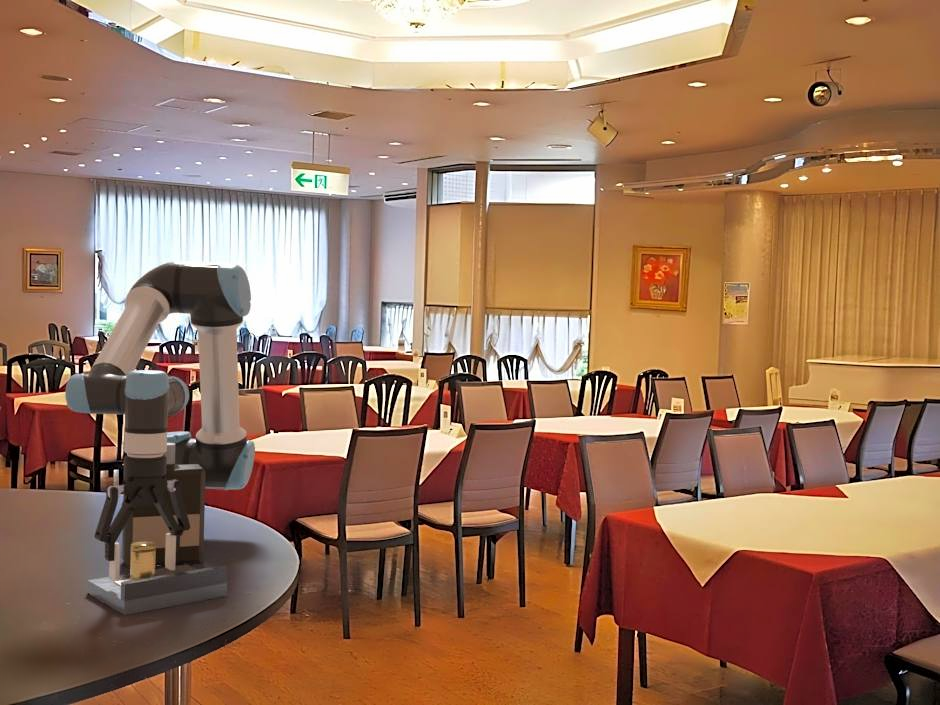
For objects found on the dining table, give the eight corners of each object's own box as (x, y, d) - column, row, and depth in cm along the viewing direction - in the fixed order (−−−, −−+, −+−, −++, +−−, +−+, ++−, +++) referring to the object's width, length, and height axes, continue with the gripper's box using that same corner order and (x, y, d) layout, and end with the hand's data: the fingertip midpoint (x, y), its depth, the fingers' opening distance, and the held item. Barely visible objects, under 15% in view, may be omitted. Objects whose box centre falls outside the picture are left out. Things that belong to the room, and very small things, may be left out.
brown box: (120, 559, 214) (123, 442, 213) (198, 554, 221) (201, 440, 219) (125, 569, 207) (127, 447, 205) (204, 563, 213) (208, 445, 212)
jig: (186, 576, 203) (187, 549, 203) (226, 595, 191) (227, 567, 191) (87, 593, 190) (88, 564, 189) (124, 615, 178) (124, 584, 178)
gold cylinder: (148, 592, 192) (149, 540, 191) (158, 598, 188) (160, 545, 188) (125, 596, 189) (126, 543, 188) (136, 602, 185) (137, 548, 185)
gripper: (192, 447, 198) (189, 559, 199) (75, 456, 182) (73, 578, 183) (211, 452, 192) (208, 568, 193) (92, 462, 177) (90, 587, 178)
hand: (142, 573), depth 188 cm, fingers open, 10 cm apart
